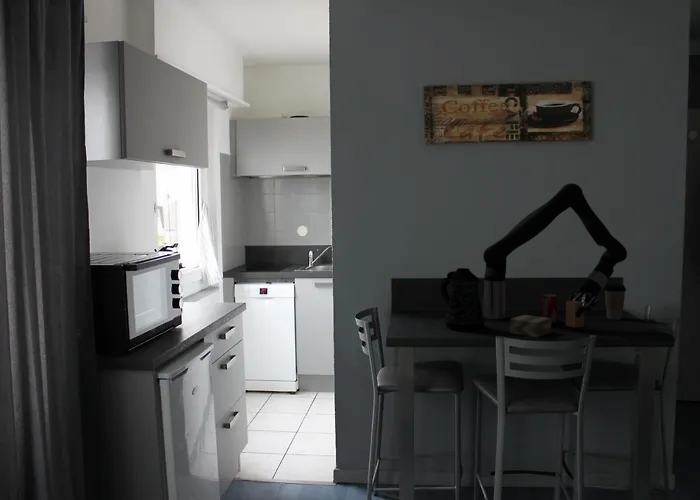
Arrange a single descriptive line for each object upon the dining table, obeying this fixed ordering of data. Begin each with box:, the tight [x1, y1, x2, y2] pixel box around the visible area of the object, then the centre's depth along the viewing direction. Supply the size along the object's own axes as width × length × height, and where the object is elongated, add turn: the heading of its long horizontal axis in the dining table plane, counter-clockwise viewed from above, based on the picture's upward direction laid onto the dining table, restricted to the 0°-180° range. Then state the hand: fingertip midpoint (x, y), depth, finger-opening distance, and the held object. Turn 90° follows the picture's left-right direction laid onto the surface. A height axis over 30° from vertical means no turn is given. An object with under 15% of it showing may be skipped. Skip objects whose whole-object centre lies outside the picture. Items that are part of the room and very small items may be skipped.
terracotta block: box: [565, 300, 585, 328], centre depth 256 cm, size 5×5×10 cm
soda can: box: [540, 293, 559, 324], centre depth 273 cm, size 7×7×12 cm
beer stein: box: [439, 267, 486, 332], centre depth 264 cm, size 16×19×25 cm
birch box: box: [509, 314, 552, 338], centre depth 253 cm, size 12×12×6 cm
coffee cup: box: [603, 283, 627, 321], centre depth 280 cm, size 9×9×15 cm
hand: (571, 314), depth 256 cm, fingers closed on terracotta block, 5 cm apart
